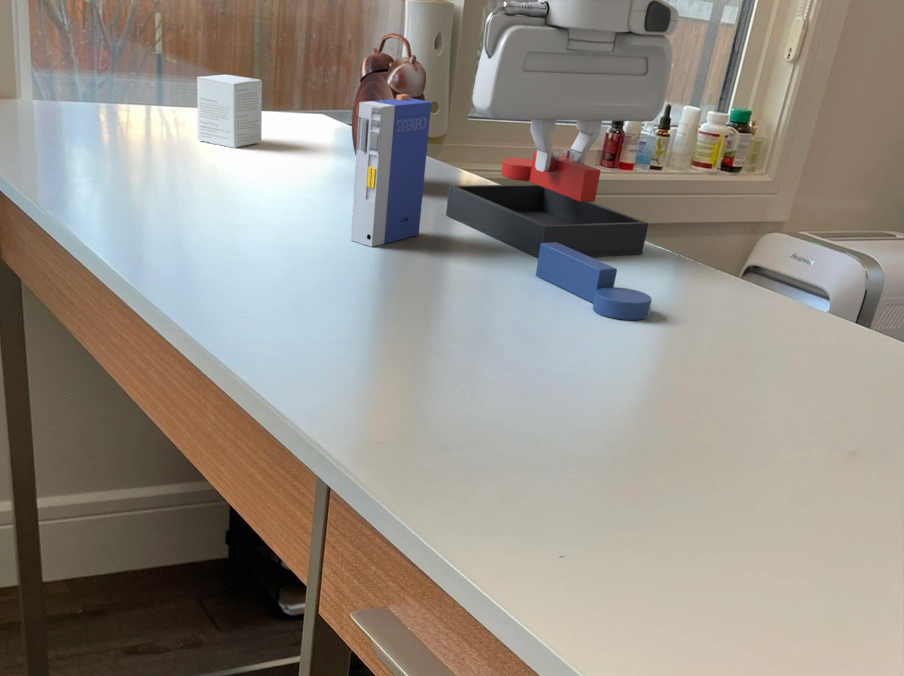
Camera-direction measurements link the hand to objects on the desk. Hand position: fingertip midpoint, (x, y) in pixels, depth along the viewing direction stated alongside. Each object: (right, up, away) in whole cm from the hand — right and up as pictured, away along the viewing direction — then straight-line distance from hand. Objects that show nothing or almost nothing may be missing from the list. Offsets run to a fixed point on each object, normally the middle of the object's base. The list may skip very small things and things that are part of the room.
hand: (558, 170), depth 110 cm
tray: (-1, -4, +5) cm, 6 cm away
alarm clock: (-17, +8, +20) cm, 28 cm away
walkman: (-17, -8, -2) cm, 19 cm away
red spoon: (-1, -1, +2) cm, 2 cm away
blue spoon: (0, -18, -14) cm, 23 cm away
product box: (-37, +21, +35) cm, 55 cm away
